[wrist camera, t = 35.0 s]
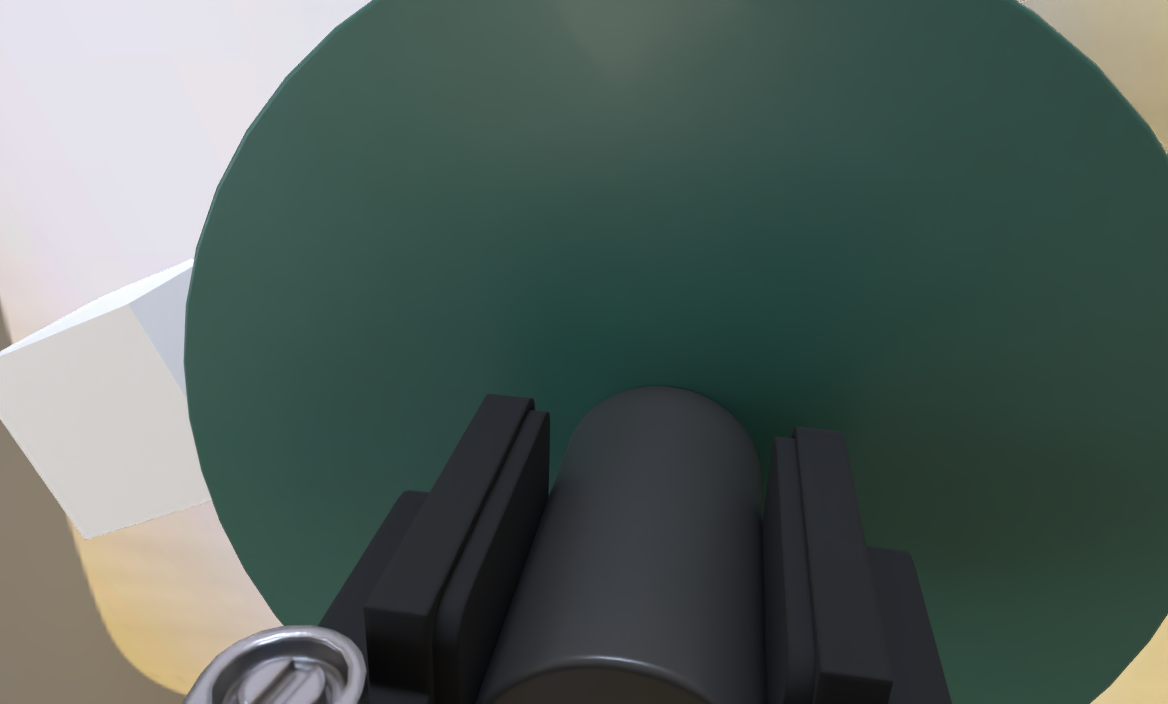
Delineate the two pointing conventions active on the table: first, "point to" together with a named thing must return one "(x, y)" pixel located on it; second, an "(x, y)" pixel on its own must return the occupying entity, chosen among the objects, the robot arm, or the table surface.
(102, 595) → the table surface
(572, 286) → the lid
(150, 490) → the white cube
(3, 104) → the table surface
